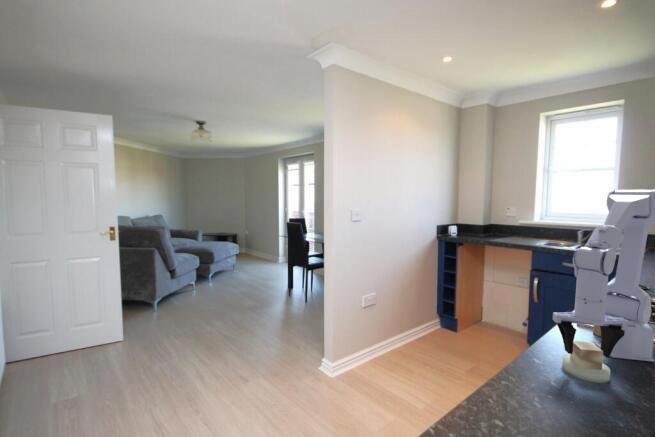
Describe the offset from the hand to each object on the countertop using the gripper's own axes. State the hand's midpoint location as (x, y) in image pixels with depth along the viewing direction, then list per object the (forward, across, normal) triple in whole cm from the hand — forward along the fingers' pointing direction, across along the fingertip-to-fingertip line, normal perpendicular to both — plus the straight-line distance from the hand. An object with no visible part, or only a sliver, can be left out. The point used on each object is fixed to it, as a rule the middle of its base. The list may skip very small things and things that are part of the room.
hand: (586, 353), depth 78 cm
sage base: (+5, 0, 0) cm, 5 cm away
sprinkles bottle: (+5, +16, +26) cm, 31 cm away
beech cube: (+3, 0, 0) cm, 3 cm away
